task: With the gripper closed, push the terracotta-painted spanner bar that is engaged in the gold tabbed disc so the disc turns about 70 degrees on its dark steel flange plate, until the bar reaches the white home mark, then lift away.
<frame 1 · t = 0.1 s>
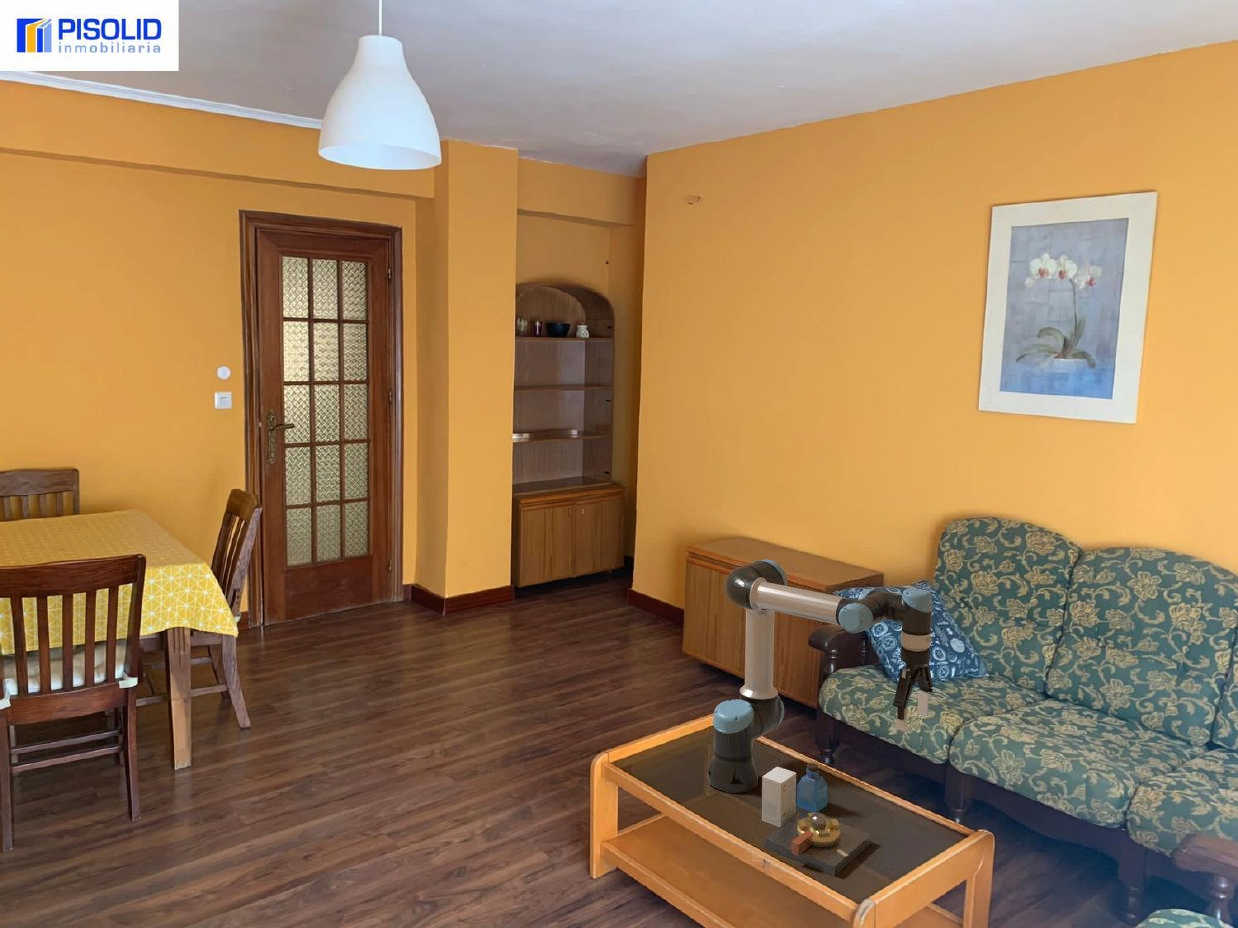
hand: (912, 722, 253), 28 cm above the table, fingers open, 13 cm apart
perfume bottle: (811, 806, 264), on the table
flange plate: (818, 845, 243), on the table
small box: (778, 819, 257), on the table
gold tabbed disc: (812, 834, 240), point 5 cm above the table, hinge at 0.0°
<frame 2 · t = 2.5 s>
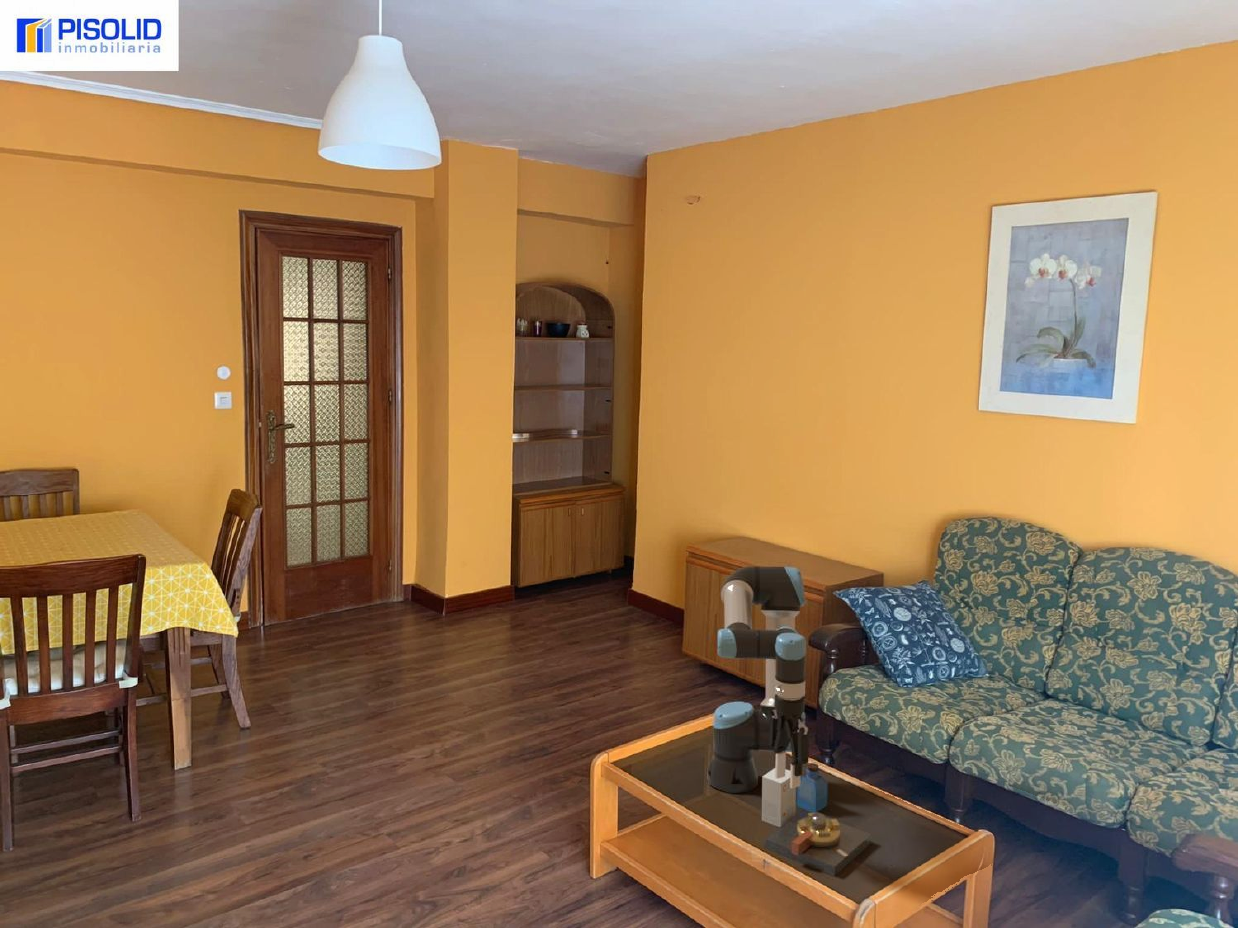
hand: (787, 781, 239), 19 cm above the table, fingers open, 5 cm apart
nothing on the table moved.
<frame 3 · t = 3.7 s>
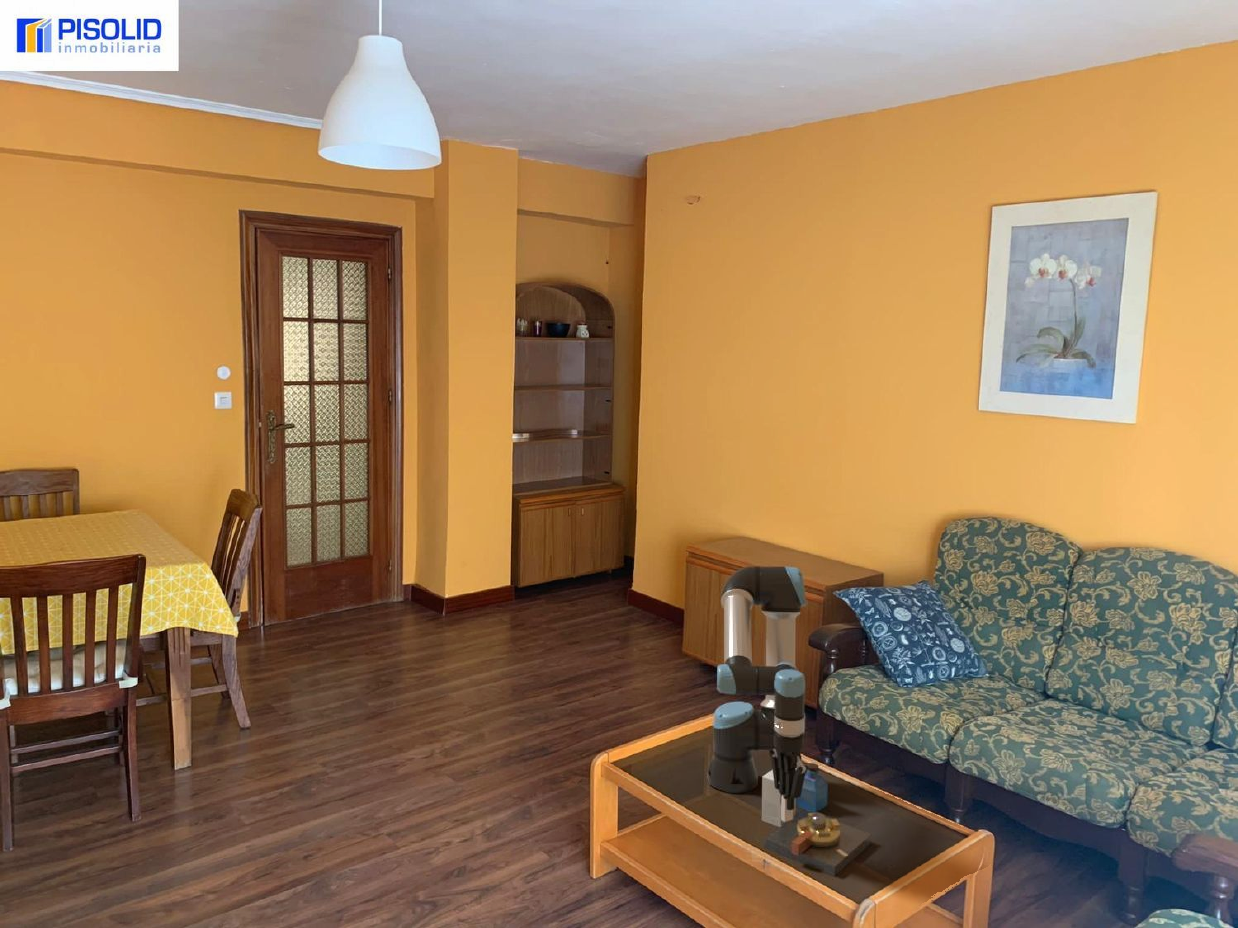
hand: (786, 819, 240), 9 cm above the table, fingers closed
nothing on the table moved.
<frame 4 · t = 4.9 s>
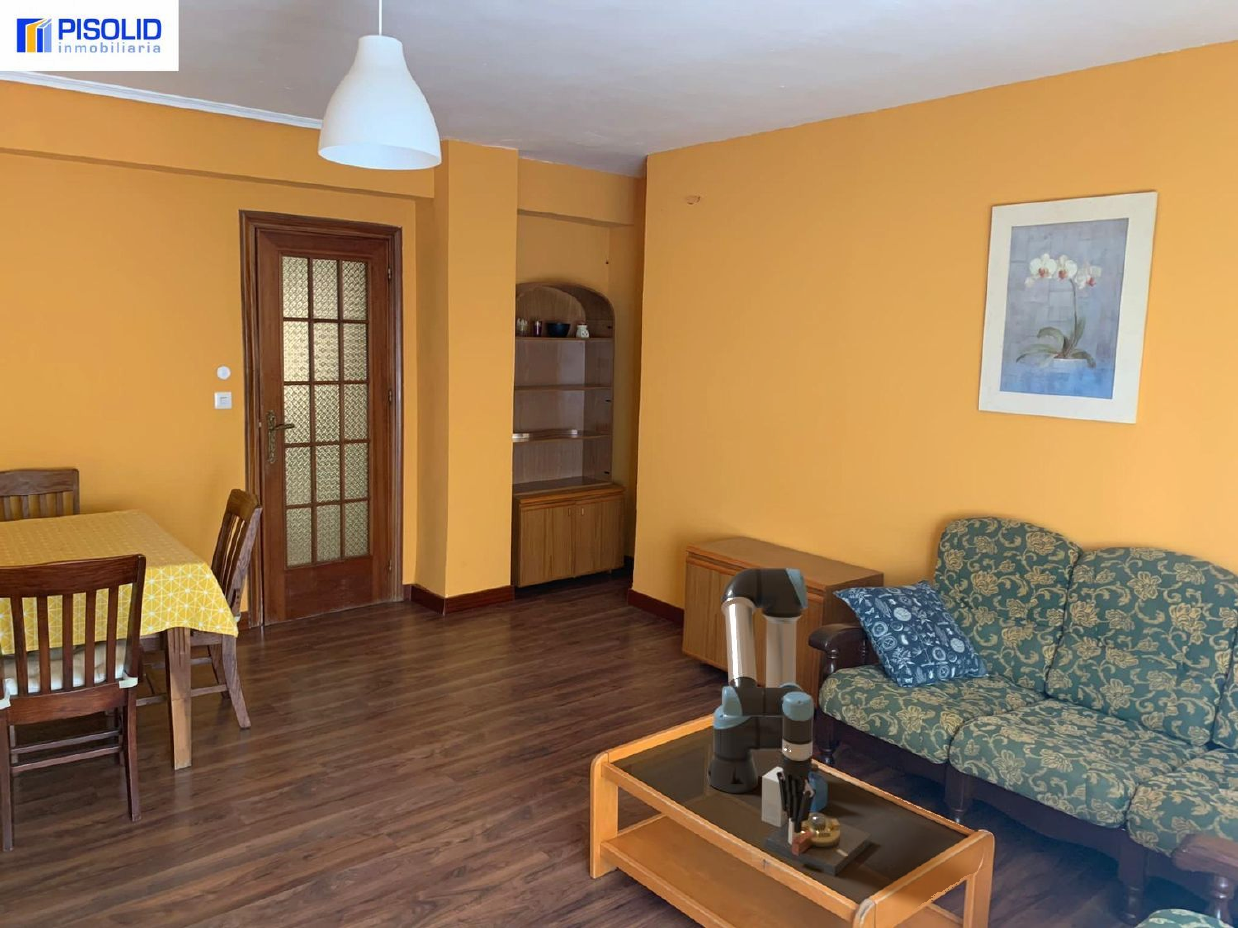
hand: (794, 842, 238), 4 cm above the table, fingers closed
gold tabbed disc: (812, 834, 240), point 5 cm above the table, hinge at 0.2°, touching gripper
everything else where it was.
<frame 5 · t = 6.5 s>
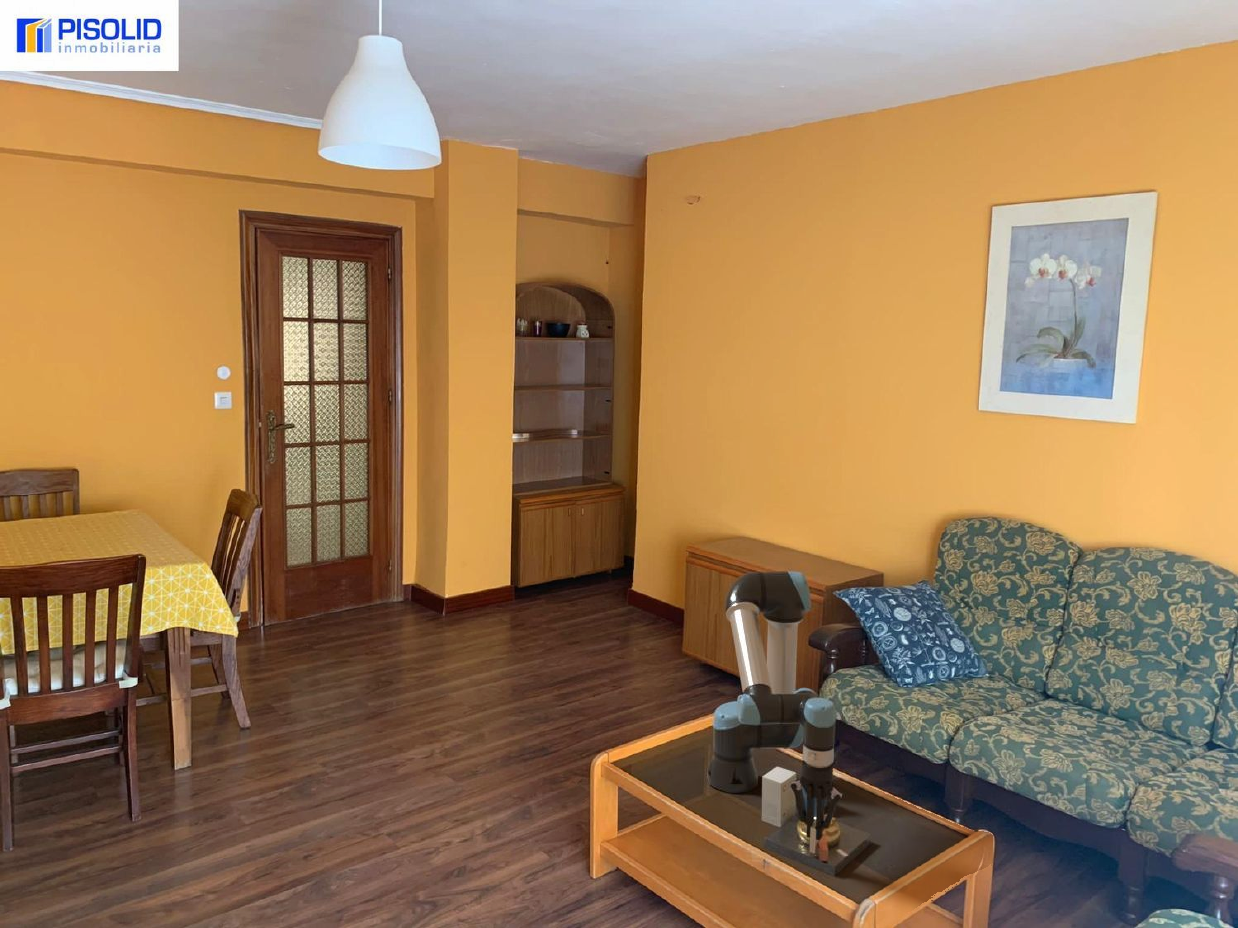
hand: (813, 849, 234), 4 cm above the table, fingers closed
gold tabbed disc: (819, 835, 240), point 5 cm above the table, hinge at 35.2°, touching gripper
everything else where it was.
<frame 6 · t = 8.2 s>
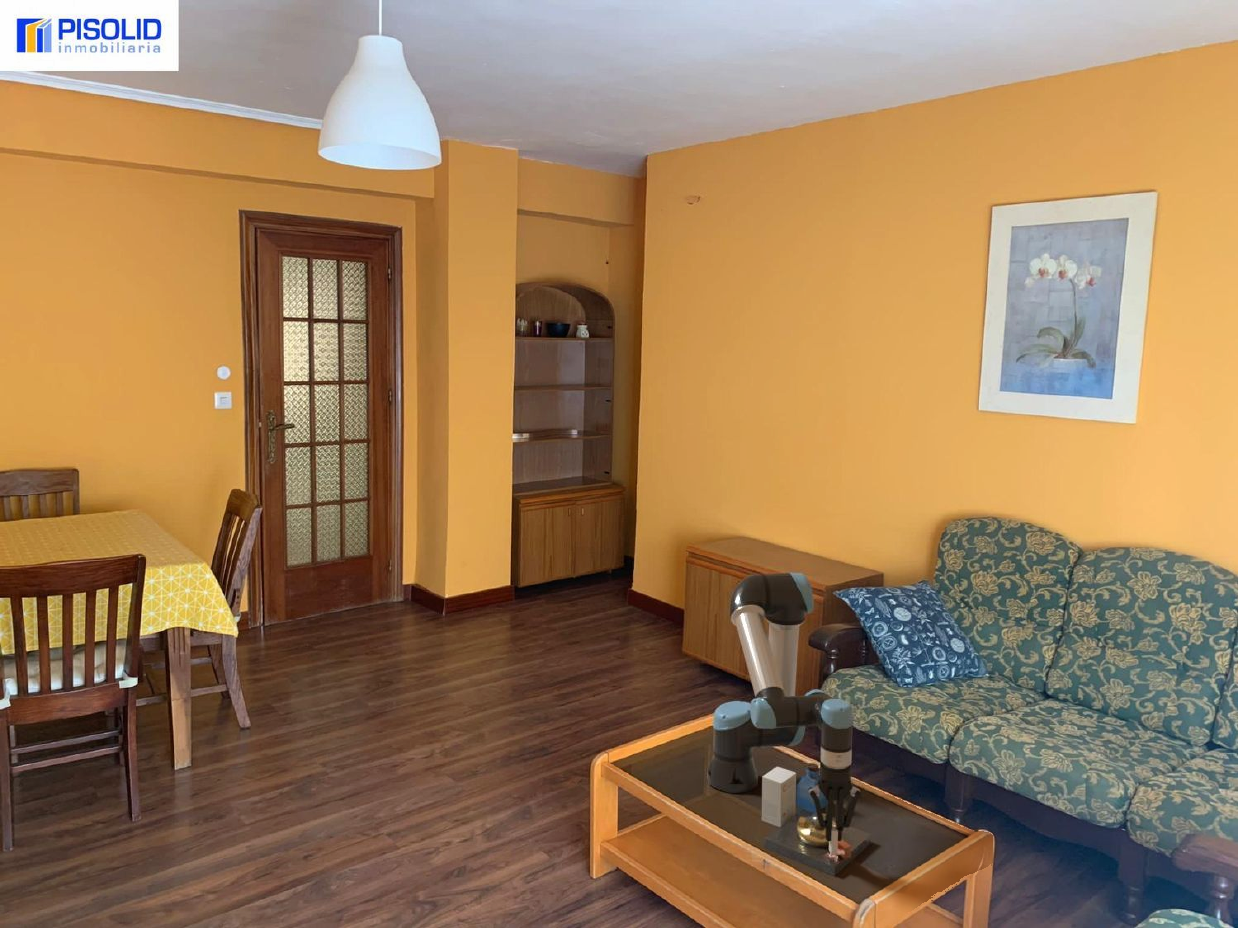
hand: (832, 852, 233), 4 cm above the table, fingers closed
gold tabbed disc: (826, 835, 240), point 5 cm above the table, hinge at 65.4°
everything else where it was.
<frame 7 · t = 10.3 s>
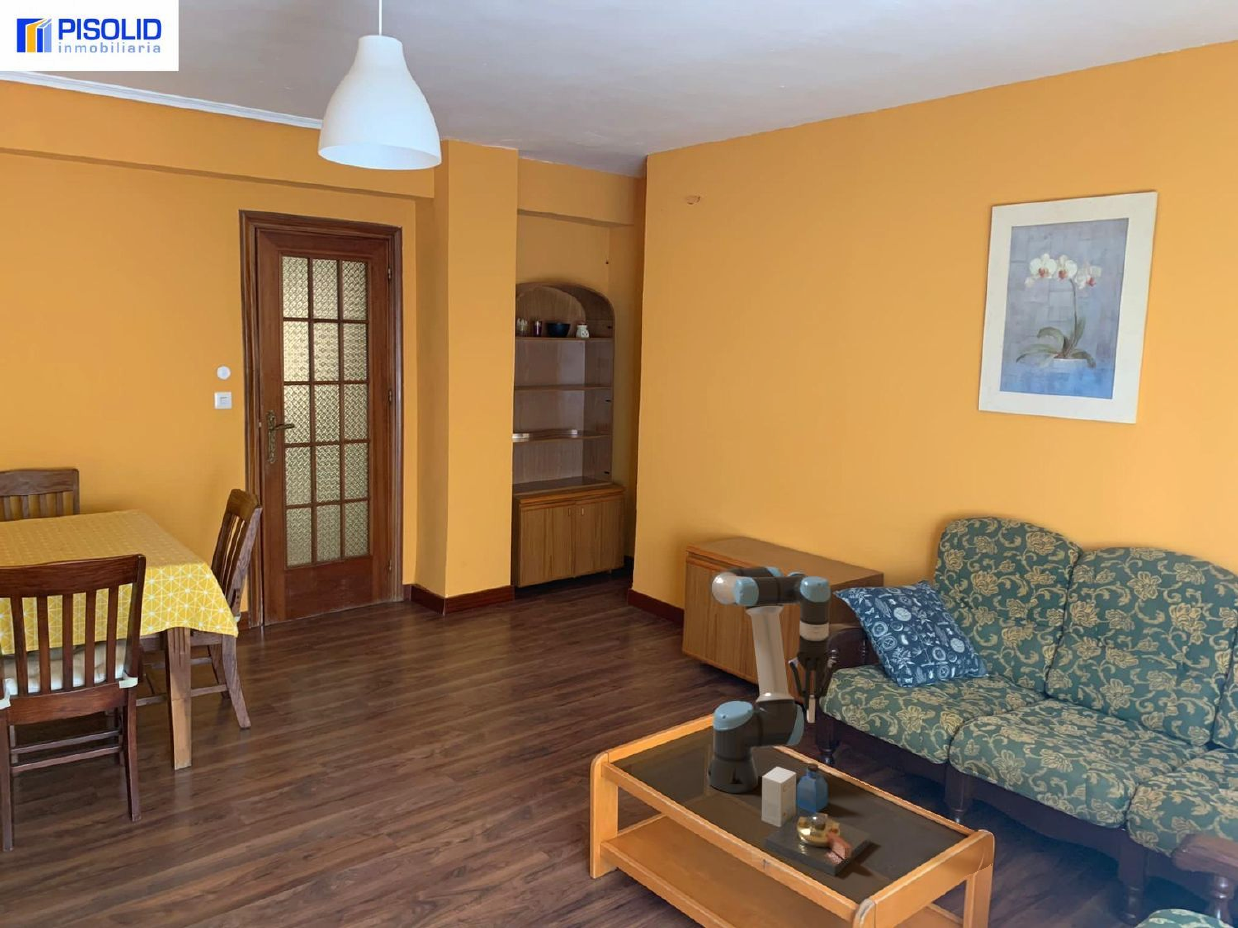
hand: (810, 720, 249), 30 cm above the table, fingers closed
nothing on the table moved.
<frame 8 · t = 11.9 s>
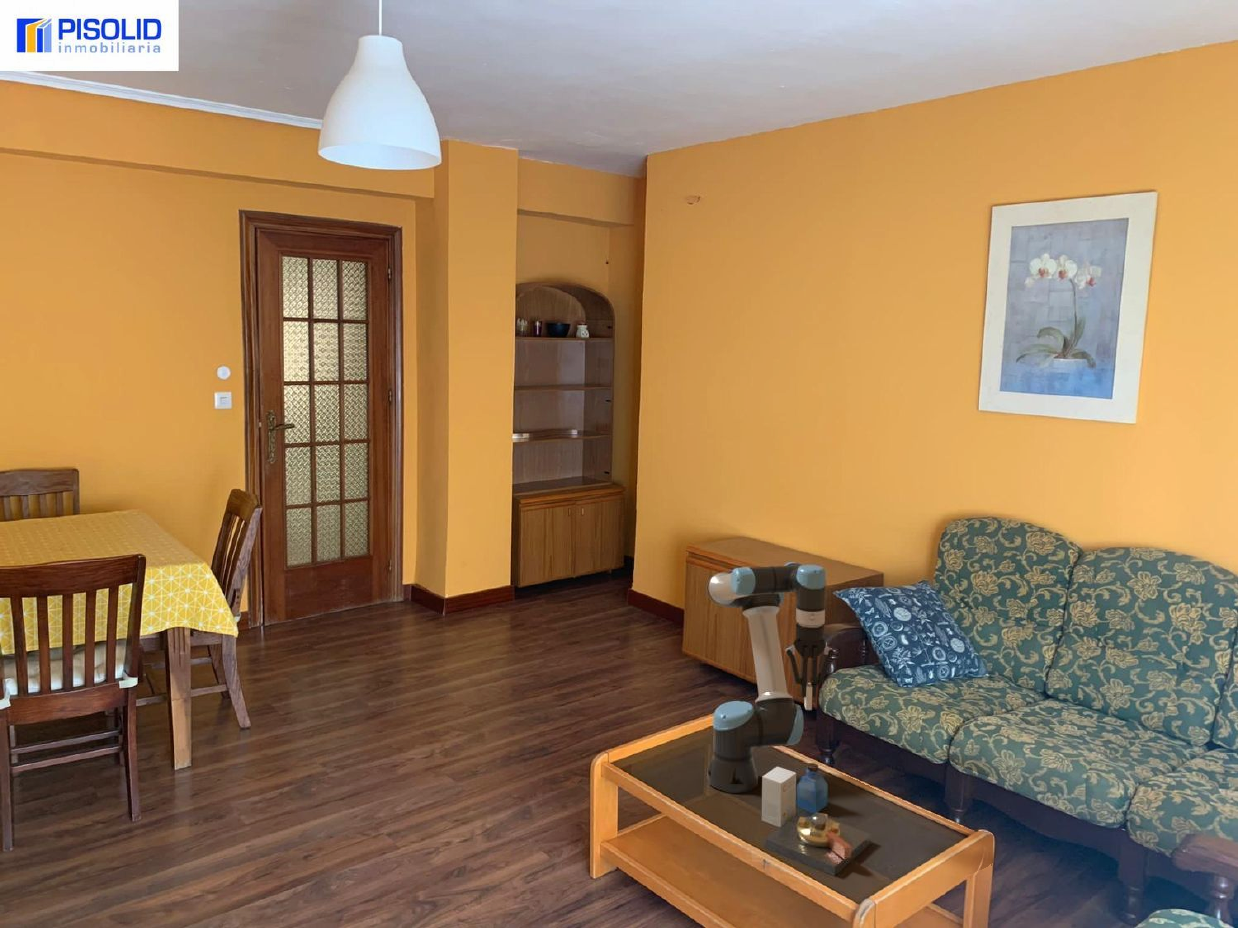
hand: (808, 707, 252), 32 cm above the table, fingers closed
nothing on the table moved.
at the end: gold tabbed disc at +65° (first picture: +0°) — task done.
